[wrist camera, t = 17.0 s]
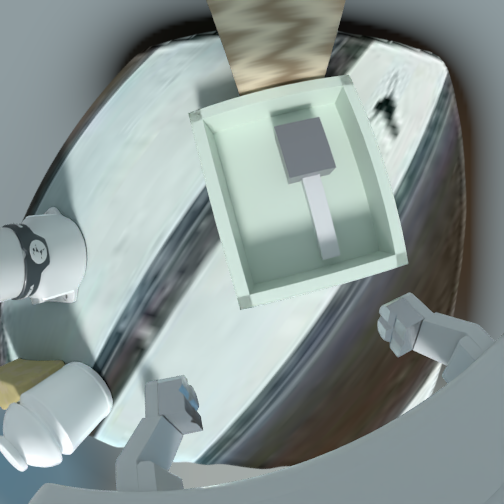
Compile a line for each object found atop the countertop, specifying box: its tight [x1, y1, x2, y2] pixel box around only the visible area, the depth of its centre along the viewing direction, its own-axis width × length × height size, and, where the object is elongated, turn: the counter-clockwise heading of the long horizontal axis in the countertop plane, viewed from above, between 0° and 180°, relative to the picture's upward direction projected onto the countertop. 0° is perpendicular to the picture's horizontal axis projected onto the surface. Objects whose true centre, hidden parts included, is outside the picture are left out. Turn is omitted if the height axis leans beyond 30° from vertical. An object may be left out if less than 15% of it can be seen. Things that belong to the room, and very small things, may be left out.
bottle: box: [0, 361, 113, 471], centre depth 32 cm, size 14×14×28 cm
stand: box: [207, 0, 345, 96], centre depth 24 cm, size 12×10×26 cm
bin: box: [188, 75, 408, 310], centre depth 35 cm, size 22×26×7 cm
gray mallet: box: [274, 117, 340, 260], centre depth 34 cm, size 6×18×5 cm, turn 15°
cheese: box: [0, 359, 65, 410], centre depth 40 cm, size 22×10×15 cm, turn 113°
